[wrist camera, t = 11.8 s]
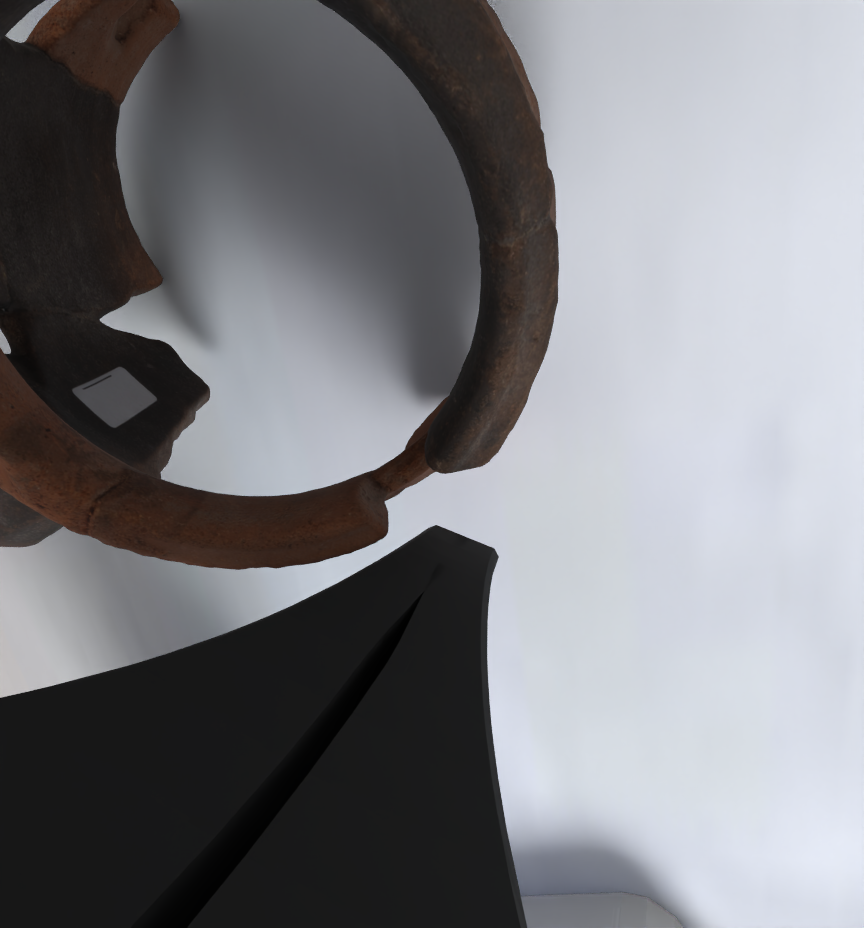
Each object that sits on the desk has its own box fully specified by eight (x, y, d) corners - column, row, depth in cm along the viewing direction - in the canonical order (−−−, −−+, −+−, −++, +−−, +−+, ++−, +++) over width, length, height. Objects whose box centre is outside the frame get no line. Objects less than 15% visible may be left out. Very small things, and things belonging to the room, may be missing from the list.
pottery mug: (210, -216, 9) (-182, -1316, 2) (554, 209, 13) (793, 302, 7) (-85, 323, 13) (-591, 571, 6) (265, 519, 17) (222, 792, 10)
